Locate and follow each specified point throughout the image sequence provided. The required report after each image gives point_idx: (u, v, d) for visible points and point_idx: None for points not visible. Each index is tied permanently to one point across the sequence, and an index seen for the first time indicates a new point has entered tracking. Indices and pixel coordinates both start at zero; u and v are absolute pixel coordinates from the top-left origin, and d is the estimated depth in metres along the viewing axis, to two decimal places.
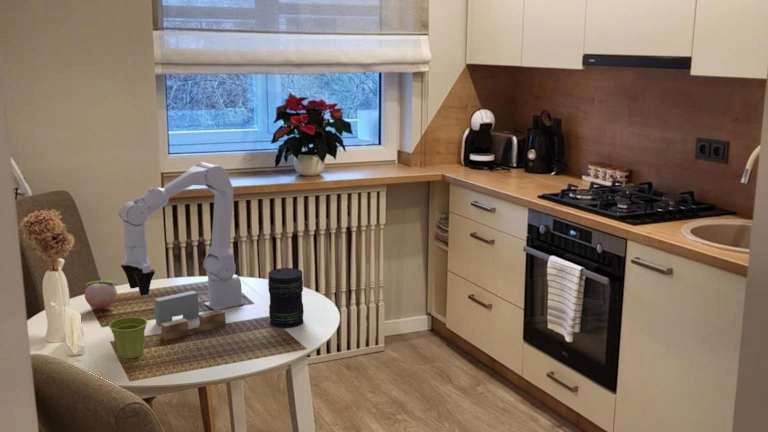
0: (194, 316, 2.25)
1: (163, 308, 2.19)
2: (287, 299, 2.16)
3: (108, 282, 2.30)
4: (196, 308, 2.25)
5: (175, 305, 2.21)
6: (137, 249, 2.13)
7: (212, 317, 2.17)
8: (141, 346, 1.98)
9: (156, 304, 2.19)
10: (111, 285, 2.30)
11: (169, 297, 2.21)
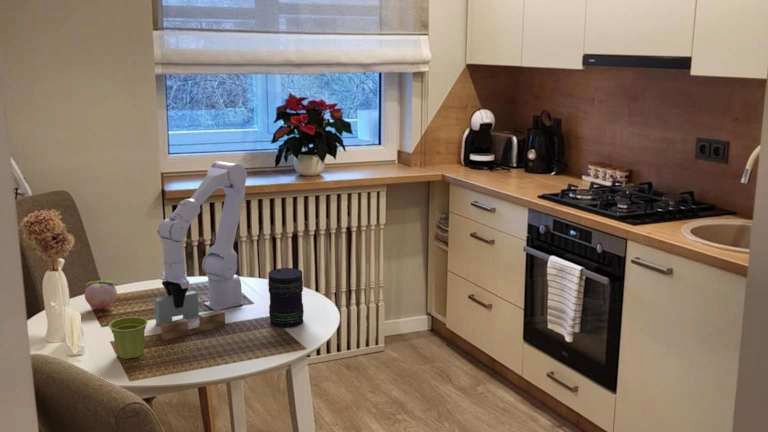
0: (194, 316, 2.25)
1: (163, 308, 2.19)
2: (287, 299, 2.16)
3: (108, 282, 2.30)
4: (196, 308, 2.25)
5: None
6: (176, 265, 2.17)
7: (212, 317, 2.17)
8: (141, 346, 1.98)
9: (156, 304, 2.19)
10: (111, 285, 2.30)
11: (169, 297, 2.21)
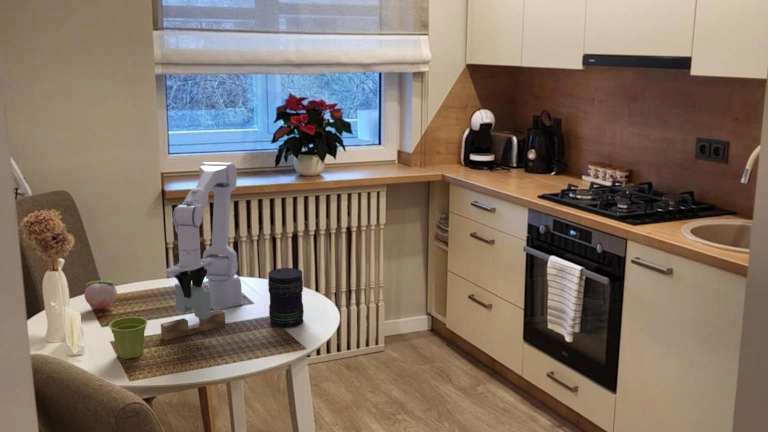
0: (200, 316, 2.10)
1: (178, 293, 2.15)
2: (287, 299, 2.16)
3: (108, 282, 2.30)
4: (201, 309, 2.09)
5: None
6: (179, 252, 2.08)
7: (212, 317, 2.17)
8: (141, 346, 1.98)
9: None
10: (111, 285, 2.30)
11: None
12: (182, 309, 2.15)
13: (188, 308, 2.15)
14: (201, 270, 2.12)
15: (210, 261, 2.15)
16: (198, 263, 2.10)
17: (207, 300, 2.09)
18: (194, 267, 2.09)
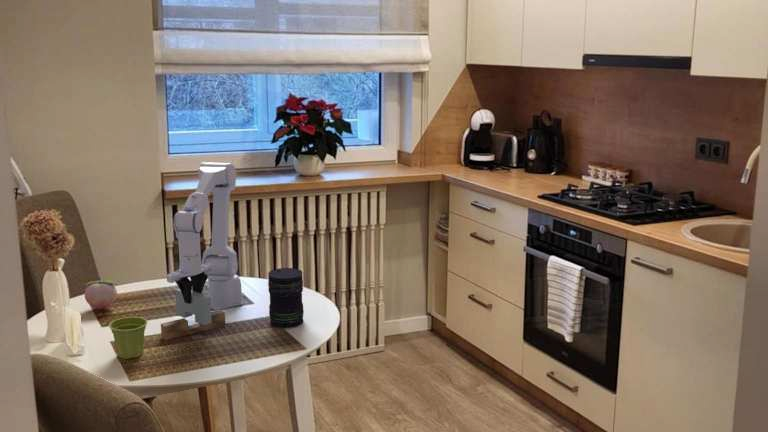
0: (200, 322, 2.10)
1: (178, 299, 2.15)
2: (287, 299, 2.16)
3: (108, 282, 2.30)
4: (202, 315, 2.09)
5: None
6: (180, 258, 2.09)
7: (212, 317, 2.17)
8: (141, 346, 1.98)
9: None
10: (111, 285, 2.30)
11: None
12: (182, 315, 2.15)
13: (188, 314, 2.16)
14: (201, 276, 2.12)
15: (210, 266, 2.15)
16: (198, 269, 2.10)
17: (207, 306, 2.10)
18: (195, 273, 2.09)
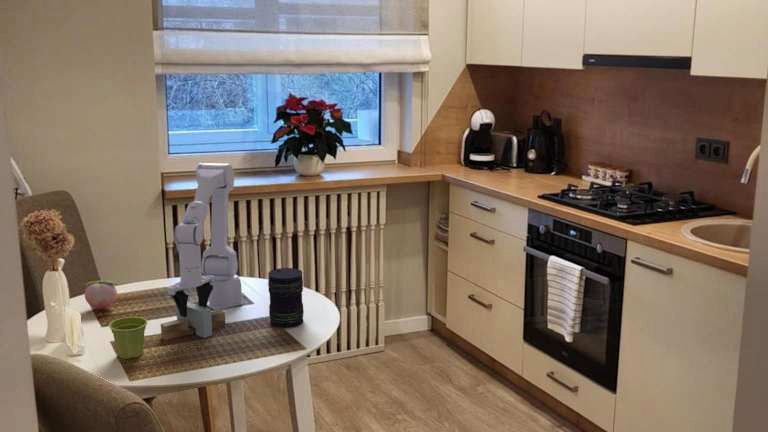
0: (201, 335, 2.11)
1: None
2: (287, 299, 2.16)
3: (108, 282, 2.30)
4: (202, 328, 2.10)
5: (187, 315, 2.14)
6: (181, 270, 2.09)
7: (212, 317, 2.17)
8: (141, 346, 1.98)
9: None
10: (111, 285, 2.30)
11: (187, 304, 2.15)
12: None
13: None
14: (207, 286, 2.15)
15: (211, 278, 2.16)
16: (199, 281, 2.11)
17: (208, 319, 2.11)
18: (195, 285, 2.10)
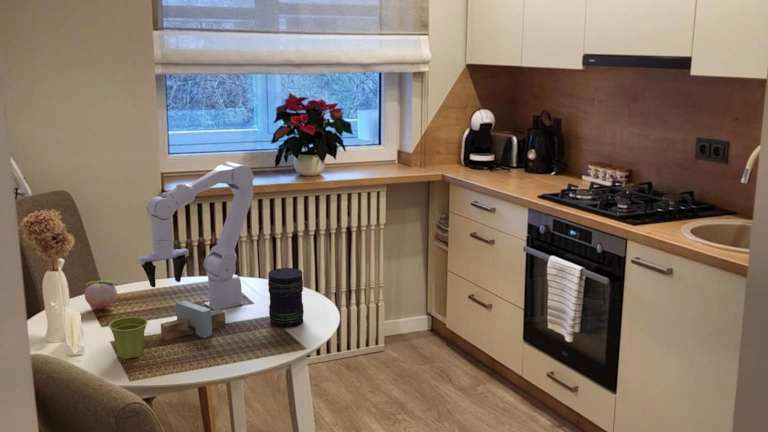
0: (201, 335, 2.11)
1: (179, 312, 2.16)
2: (287, 299, 2.16)
3: (108, 282, 2.30)
4: (202, 328, 2.10)
5: (187, 315, 2.14)
6: (152, 241, 2.19)
7: (212, 317, 2.17)
8: (141, 346, 1.98)
9: None
10: (111, 285, 2.30)
11: (187, 304, 2.15)
12: None
13: None
14: (181, 258, 2.23)
15: (184, 252, 2.24)
16: (169, 253, 2.20)
17: (208, 319, 2.11)
18: (165, 256, 2.19)
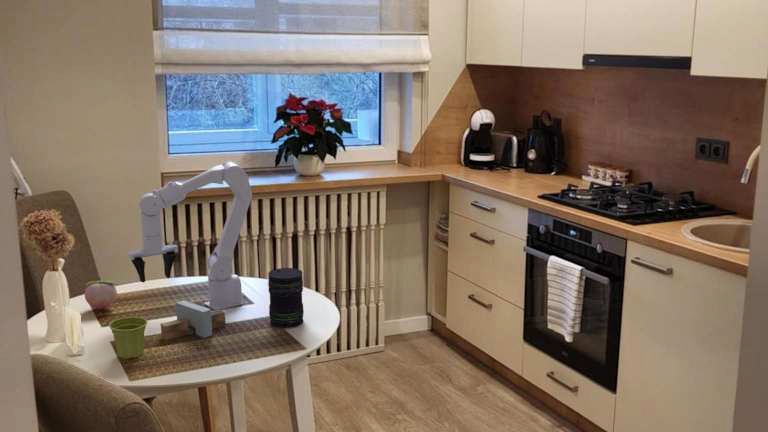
0: (201, 335, 2.11)
1: (179, 312, 2.16)
2: (287, 299, 2.16)
3: (108, 282, 2.30)
4: (202, 328, 2.10)
5: (187, 315, 2.14)
6: (142, 237, 2.24)
7: (212, 317, 2.17)
8: (141, 346, 1.98)
9: None
10: (111, 285, 2.30)
11: (187, 304, 2.15)
12: None
13: None
14: (170, 254, 2.28)
15: (174, 248, 2.29)
16: (158, 249, 2.24)
17: (208, 319, 2.11)
18: (154, 252, 2.23)
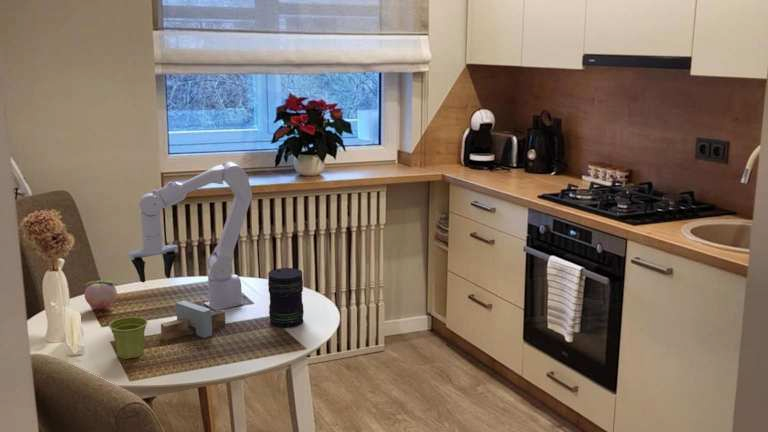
0: (201, 335, 2.11)
1: (179, 312, 2.16)
2: (287, 299, 2.16)
3: (108, 282, 2.30)
4: (202, 328, 2.10)
5: (187, 315, 2.14)
6: (142, 237, 2.24)
7: (212, 317, 2.17)
8: (141, 346, 1.98)
9: None
10: (111, 285, 2.30)
11: (187, 304, 2.15)
12: None
13: None
14: (170, 254, 2.28)
15: (174, 248, 2.29)
16: (158, 249, 2.24)
17: (208, 319, 2.11)
18: (154, 252, 2.23)
